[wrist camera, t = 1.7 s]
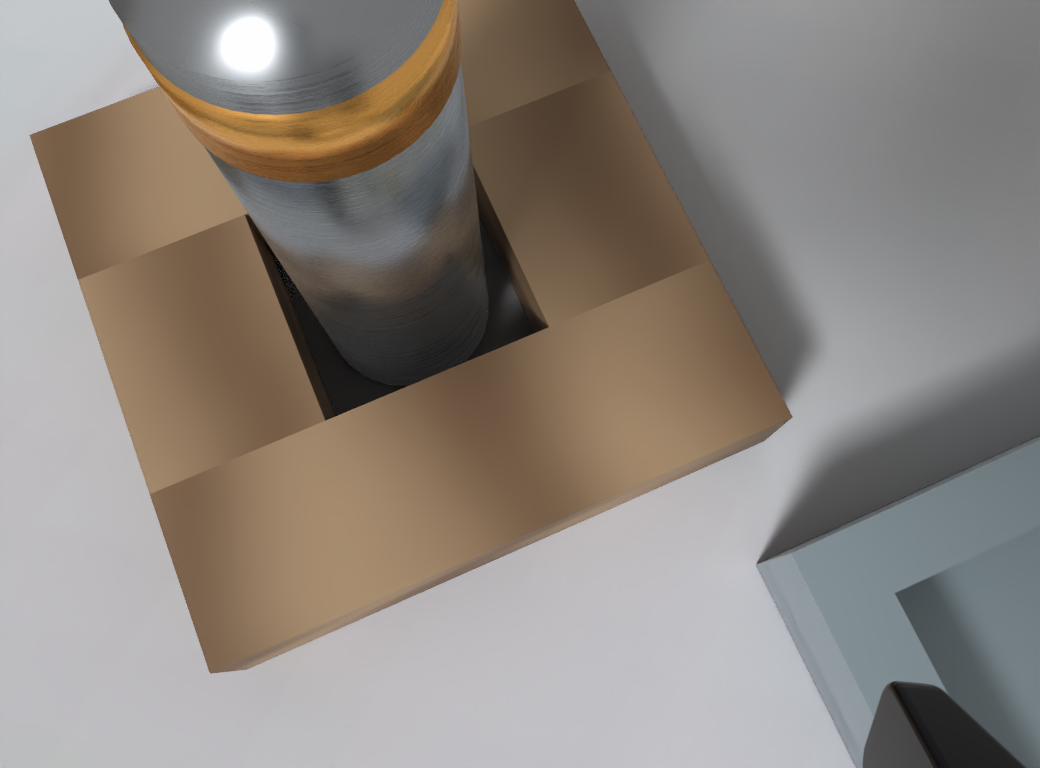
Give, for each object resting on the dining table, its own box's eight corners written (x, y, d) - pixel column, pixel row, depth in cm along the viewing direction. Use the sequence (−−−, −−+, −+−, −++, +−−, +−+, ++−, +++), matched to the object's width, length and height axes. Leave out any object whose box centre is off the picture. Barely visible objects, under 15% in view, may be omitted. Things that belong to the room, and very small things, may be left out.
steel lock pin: (360, 414, 23) (154, 139, 10) (301, 268, 24) (47, -148, 11) (517, 348, 23) (504, 5, 11) (452, 207, 24) (370, -260, 12)
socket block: (246, 669, 21) (210, 673, 19) (78, 185, 24) (29, 135, 22) (764, 440, 22) (792, 417, 20) (541, 8, 26) (543, -58, 23)
